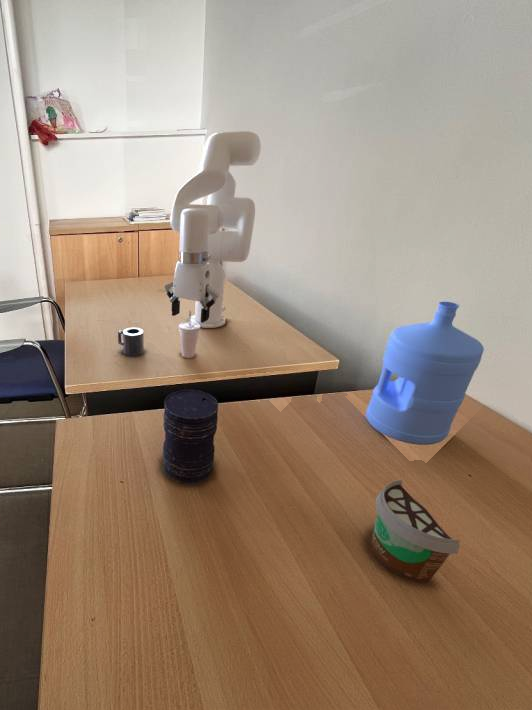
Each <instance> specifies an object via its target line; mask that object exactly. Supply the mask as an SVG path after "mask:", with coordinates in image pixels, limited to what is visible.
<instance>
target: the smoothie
mask: <svg viewBox="0 0 532 710" xmlns="http://www.w3.org/2000/svg"><path fill="white" fill-rule="evenodd" d="M191 317H192V310H189V311H188V321H184V322H180V323H179V325H178V330H179V337H180V338H179V339H180V347H181V356H182V358H186V359H190V358H191V359H192V358H194V357H195V354H196V348H197V342H198V338H199V333H200V330H201V327H200V325H199V324H198V323H195V322H191Z"/></svg>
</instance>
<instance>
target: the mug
mask: <svg viewBox="0 0 532 710" xmlns="http://www.w3.org/2000/svg"><path fill="white" fill-rule="evenodd" d="M117 343H118V345H120V346H123V354H124V355H125V356H126V357H127V356H128V357H139V356H142V355H143V354H144V352H145V351H144V347H145V346H144V345H145V344H144V329H142V328H139V327H128V328H125V329H124V330H121V329H118V330H117Z"/></svg>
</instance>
